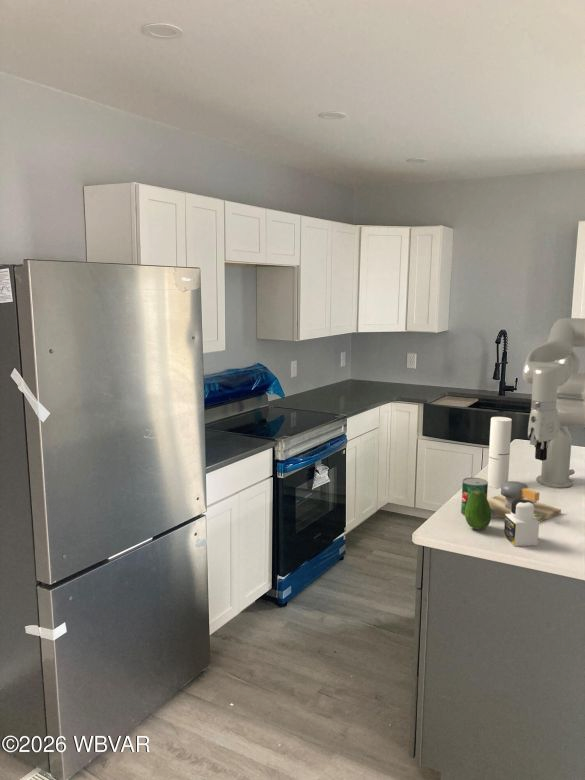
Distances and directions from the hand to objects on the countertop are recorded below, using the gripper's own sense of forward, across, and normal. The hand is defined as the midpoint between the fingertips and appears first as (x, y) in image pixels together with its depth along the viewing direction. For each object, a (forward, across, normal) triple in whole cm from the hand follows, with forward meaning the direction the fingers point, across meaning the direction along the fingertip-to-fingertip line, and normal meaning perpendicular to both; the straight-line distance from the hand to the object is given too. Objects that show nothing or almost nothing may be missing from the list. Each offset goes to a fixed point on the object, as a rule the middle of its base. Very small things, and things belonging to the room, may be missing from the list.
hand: (540, 459), depth 206 cm
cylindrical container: (+18, +6, +22) cm, 28 cm away
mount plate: (+16, -9, +1) cm, 19 cm away
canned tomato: (+15, -24, +7) cm, 29 cm away
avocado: (+15, -32, -2) cm, 36 cm away
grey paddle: (+10, -11, -1) cm, 15 cm away
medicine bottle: (+15, -29, -15) cm, 36 cm away
